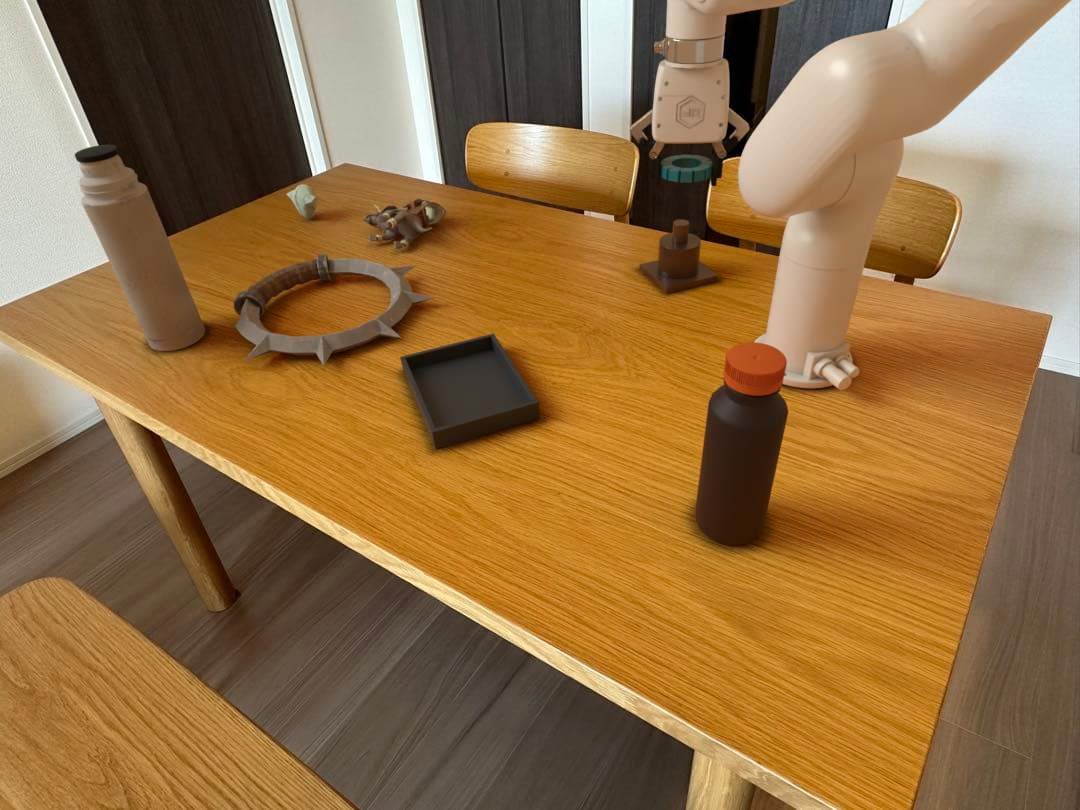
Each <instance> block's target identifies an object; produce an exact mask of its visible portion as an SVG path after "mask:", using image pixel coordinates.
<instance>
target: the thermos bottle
mask: <svg viewBox="0 0 1080 810" xmlns="http://www.w3.org/2000/svg"><path fill="white" fill-rule="evenodd" d="M119 153H120V151H119V149H118V147H117V146H116V145H115V144H99V145H94V146H93V145H92V146H89V147H85V148H83V149H80V150H78V151H76V152H75V154H74V157H75V160H76V161H77V163H78V164H79V165H78V166H79V169H80V171H81V174H82V176H81V177H80V179H79V180H78V184H79V186H80V191H81V192H82V193H83V196H82V197H81V198H80V203H81V205H82V208H83V209H84V211H85V213H86V216H87V218H88V219H89V222H90V224H91V225H92V228H93V229H94V231H95V234H96V236H97V239H98V240H99V242H100V245H101V246H102V249H103V251H104V253H105V256H106V257H107V259H108V261H109V263H110V266H111V267H112V269H113V272H114V274H115V276H116V278H117V280H118V282H119V285H120V286H121V289H122V291H123V293H124V295H125V297H126V299H127V301H128V303H129V305H130V307H131V309H132V310H131V311H132V312H133V314H134V316H135V318H136V320H137V322H138V325H139V327H140V328H141V330H142V333H143V335H144V337H145V340H146V342H147V343H148V346H149V347H150V349H152V350H155V351H159V352H173V351H179V350H181V349H185V348H188V347H189V346H191V345H194V344H195V343H197V342H198V341H200V340H201V339H202V338H203V337H204V335H205V333H206V327H205V325H204V323H203V321H202V318H201V315H200V313H199V310H198V308H197V305H196V303H195V301H194V298H193V295H192V293H191V290H190V289H189V286H188V284H187V281H186V279H185V277H184V273H183V271H182V269H181V267H180V263H179V262H178V260H177V257H176V255H175V252H174V250H173V247H172V245H171V242H170V240H169V237H168V235H167V233H166V230H165V228H164V226H163V223H162V221H161V218H160V216H159V213H158V211H157V208H156V206H155V204H154V203H155V202H154V201H153V198H152V196H151V194H150V191H149V189H148V186H147V185H145V184H144V183H141V182H140V181H139V180H138V174H137V173H135V170H134V169H132V167H131V168H130V167H127V166H125V164H124V163H123V160H122V158H121V156H119Z"/></svg>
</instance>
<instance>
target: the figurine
mask: <svg viewBox="0 0 1080 810" xmlns="http://www.w3.org/2000/svg"><path fill="white" fill-rule="evenodd" d="M370 206H371V207H370V212H371V214H367V215H365V216H364V217H363V219H362V221H364V222H365V223H367V224H368V225H369V226H370V227H373V228H378V229H380V230H382V233H385V234H384V235H381V234H376V235H373V234H372V233H368V236H367V237H368V238H367V239H368V240H369V243H371V242H377V243H382V242H383V241H385V242H386V241H390V240H392V239H395V238H397V237H398V236H400V237H403V239H401V241H400V242H399V241H396V240H395V241H394V240H393V246H392V247H394V250H399V249H403V250H405V249H408V247H409V245H410V244H411V243H413V241H415V240H416V239H417V238H418V237H419V235H420V234H421V233H423V234H425V233H427V232H428V231H430V230H432V229H434V227H432V226H434V225H438V224H439V223H440V222H441V221H443V219H444V217H445V215H446V213H447V210H446V209H445V208H444V206H442V205H441V204H440V203H437V202H435V201H431V200H428V199H421V198H416V199H414V200H410V201H409V202H404V203H402V204H401V207H402V209H399V207H397V206H396V205H392V204H389V205H386V206H385V207H383V209H381V208H380V205H377V204H374V203H372V204H370ZM373 206H374V207H375V208H376V209H377V211H376V212H374V213H373V210H372V209H373Z"/></svg>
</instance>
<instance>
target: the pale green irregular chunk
mask: <svg viewBox="0 0 1080 810" xmlns="http://www.w3.org/2000/svg"><path fill="white" fill-rule="evenodd" d="M286 195H287V197H288V198H289V199H290V201H292V203H293V205H294V206H295V208H296V209H297V211H298V213H299V215H301V216H302V217H303V218H305V219H307V220H310V219H313V218H314V217H315V214H316V211H317V205H318V199H317V195H316V192H315V190H314V189H313V188H312V187H311V186H309V185H308V184H306V183H305V184H299V185H297V186H296V187H295V189H293V190H290V191H288V192H287V193H286Z"/></svg>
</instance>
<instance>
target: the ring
mask: <svg viewBox="0 0 1080 810" xmlns="http://www.w3.org/2000/svg"><path fill="white" fill-rule="evenodd" d="M712 167H713V163H712V159H710V158H708V157H706V156H703V155H699V154H698V155H697V154H693V155H692V154H680V155H678V154H677V155H671V156H668V157H666V158H663V159H661V171H660V178H662V179H664V180H665V181H669V182H674V183H679V182H680V183H682V184H683V183H687V184H688V183H689V184H691V183H697V182H702V181H705V180H708V179H710V177H711V175H712Z"/></svg>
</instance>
